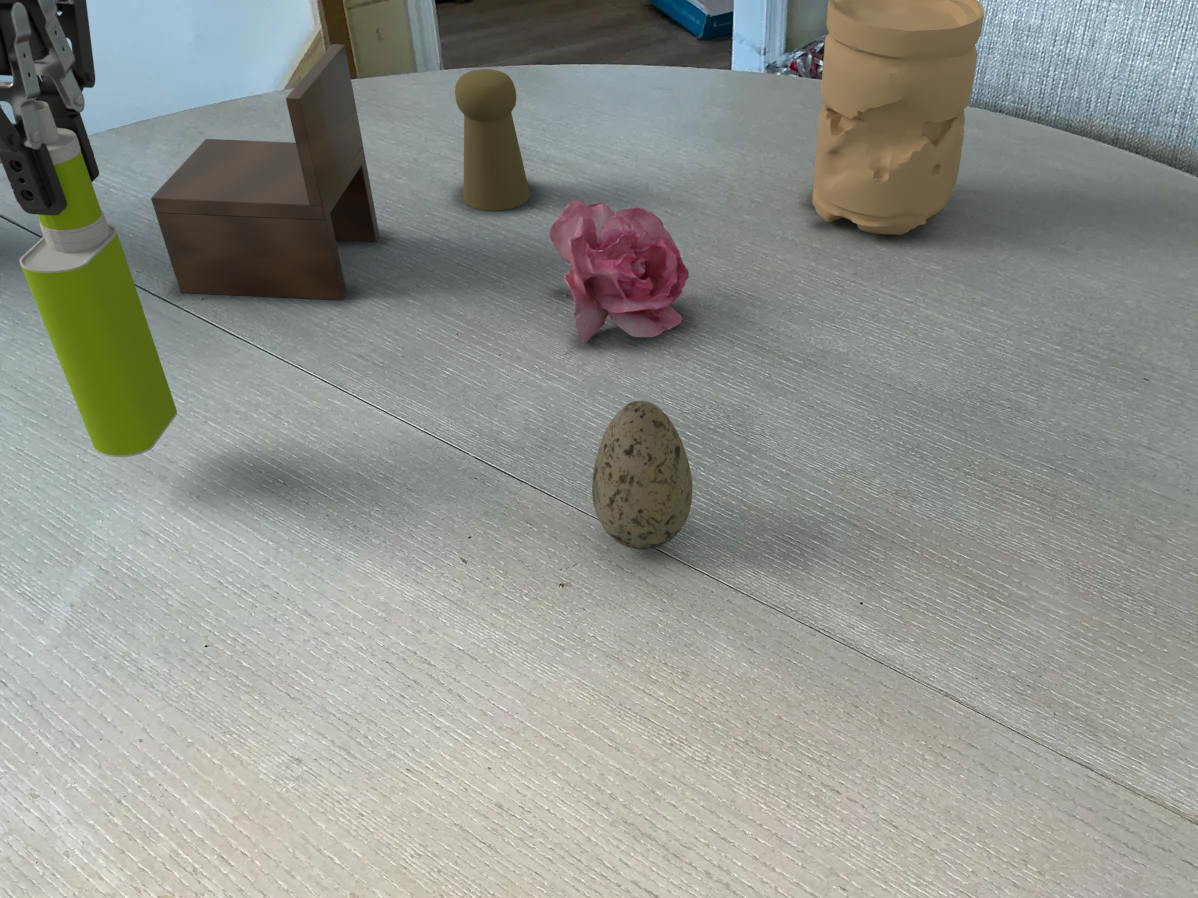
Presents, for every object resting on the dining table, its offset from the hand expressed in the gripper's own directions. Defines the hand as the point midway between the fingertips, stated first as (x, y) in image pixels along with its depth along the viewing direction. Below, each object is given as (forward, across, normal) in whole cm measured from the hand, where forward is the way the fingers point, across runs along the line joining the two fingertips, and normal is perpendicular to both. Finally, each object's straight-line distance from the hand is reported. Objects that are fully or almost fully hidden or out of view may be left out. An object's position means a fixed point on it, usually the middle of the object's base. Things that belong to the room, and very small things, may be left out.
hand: (62, 194), depth 65 cm
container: (+19, -41, +49) cm, 67 cm away
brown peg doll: (+19, -41, +14) cm, 47 cm away
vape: (+15, +1, 0) cm, 15 cm away
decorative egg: (+19, +5, +32) cm, 38 cm away
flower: (+19, -21, +28) cm, 40 cm away
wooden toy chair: (+19, -27, -1) cm, 33 cm away
